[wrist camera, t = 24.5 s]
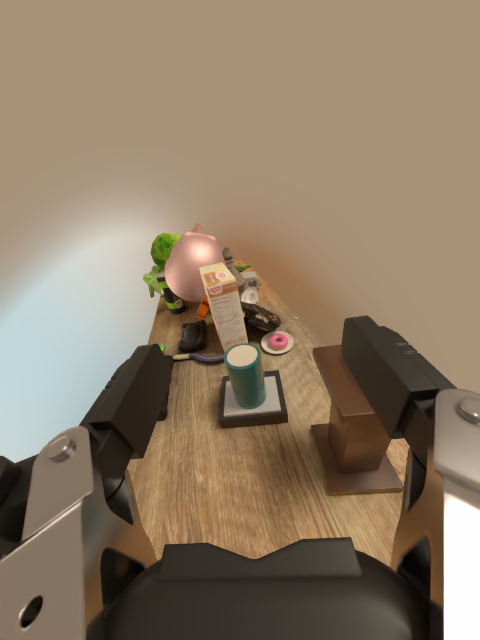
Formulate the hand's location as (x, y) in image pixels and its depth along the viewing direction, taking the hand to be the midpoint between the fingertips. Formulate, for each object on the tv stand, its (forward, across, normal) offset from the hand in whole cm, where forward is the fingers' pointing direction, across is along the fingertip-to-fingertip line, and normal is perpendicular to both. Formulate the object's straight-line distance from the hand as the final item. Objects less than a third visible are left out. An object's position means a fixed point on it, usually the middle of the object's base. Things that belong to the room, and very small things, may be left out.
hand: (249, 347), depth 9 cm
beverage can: (+63, +30, +30) cm, 76 cm away
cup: (+18, +3, +27) cm, 33 cm away
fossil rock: (+39, +6, +22) cm, 45 cm away
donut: (+37, -4, +30) cm, 47 cm away
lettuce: (+80, +31, +18) cm, 88 cm away
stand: (+8, -11, +30) cm, 33 cm away
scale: (+19, +3, +30) cm, 36 cm away
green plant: (+83, +44, +19) cm, 96 cm away
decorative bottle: (+66, +8, +30) cm, 73 cm away
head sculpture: (+79, +24, +17) cm, 84 cm away
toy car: (+43, +20, +30) cm, 56 cm away
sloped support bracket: (+77, +7, +27) cm, 82 cm away
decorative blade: (+30, +18, +28) cm, 45 cm away
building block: (+47, +14, +23) cm, 54 cm away
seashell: (+57, +1, +31) cm, 65 cm away
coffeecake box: (+42, +8, +30) cm, 52 cm away
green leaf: (+100, +7, +30) cm, 105 cm away
